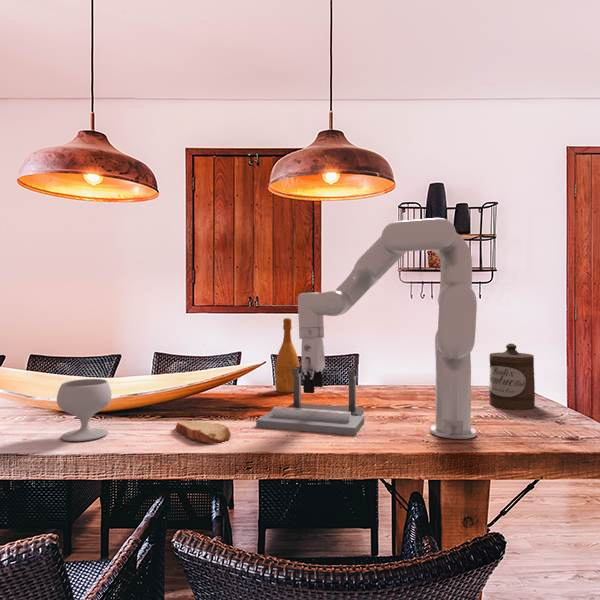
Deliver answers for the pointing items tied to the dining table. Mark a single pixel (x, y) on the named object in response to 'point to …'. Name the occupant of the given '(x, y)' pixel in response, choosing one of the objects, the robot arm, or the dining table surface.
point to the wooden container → (512, 379)
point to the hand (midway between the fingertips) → (313, 389)
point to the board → (311, 424)
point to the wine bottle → (286, 361)
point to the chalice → (84, 405)
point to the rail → (312, 414)
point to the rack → (352, 405)
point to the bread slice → (204, 431)
